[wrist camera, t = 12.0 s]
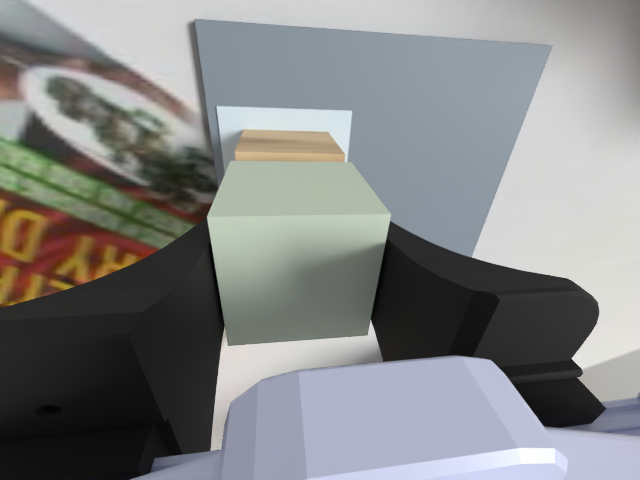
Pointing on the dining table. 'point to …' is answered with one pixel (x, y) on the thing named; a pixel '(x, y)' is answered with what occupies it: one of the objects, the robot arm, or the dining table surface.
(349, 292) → the sage block
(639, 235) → the dining table surface
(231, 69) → the slate board
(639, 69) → the dining table surface
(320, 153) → the oak block
